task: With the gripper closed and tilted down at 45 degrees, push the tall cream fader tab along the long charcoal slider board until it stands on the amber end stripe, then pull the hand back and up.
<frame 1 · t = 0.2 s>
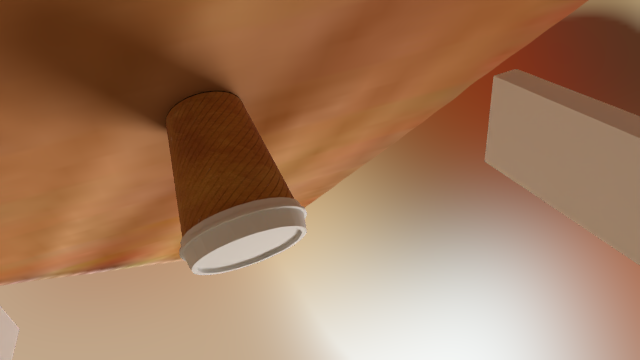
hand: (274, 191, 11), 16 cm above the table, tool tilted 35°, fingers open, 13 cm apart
disposable coffee cup: (204, 112, 35), on the table
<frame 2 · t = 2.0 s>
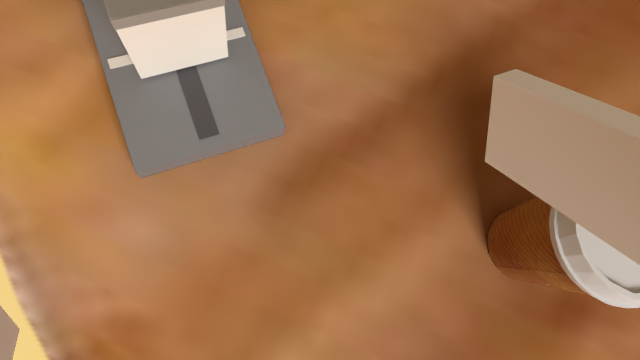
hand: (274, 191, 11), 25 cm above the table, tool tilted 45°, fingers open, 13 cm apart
fader tab: (170, 16, 31), point 6 cm above the table, slide at 0.0 cm
disposable coffee cup: (518, 244, 39), on the table
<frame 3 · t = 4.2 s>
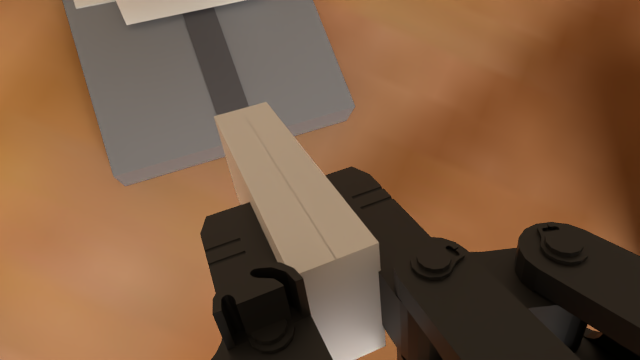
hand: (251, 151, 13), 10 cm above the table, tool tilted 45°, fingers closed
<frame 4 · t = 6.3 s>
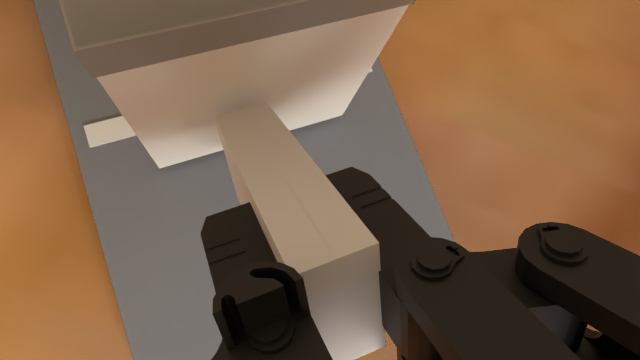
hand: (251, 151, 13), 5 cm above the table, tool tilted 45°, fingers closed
fader tab: (238, 32, 12), point 6 cm above the table, slide at 0.1 cm, touching gripper
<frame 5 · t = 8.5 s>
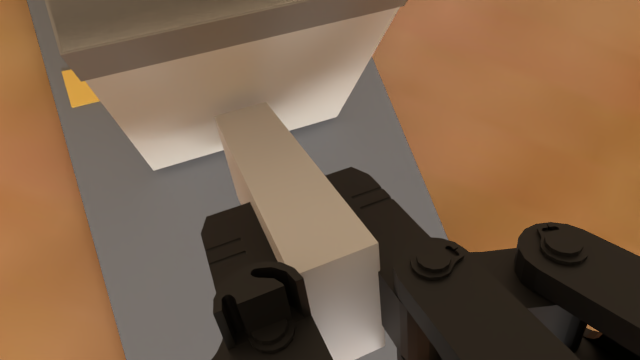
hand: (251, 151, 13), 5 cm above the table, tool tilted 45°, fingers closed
slider board: (273, 230, 18), on the table
fader tab: (230, 34, 12), point 6 cm above the table, slide at 12.2 cm
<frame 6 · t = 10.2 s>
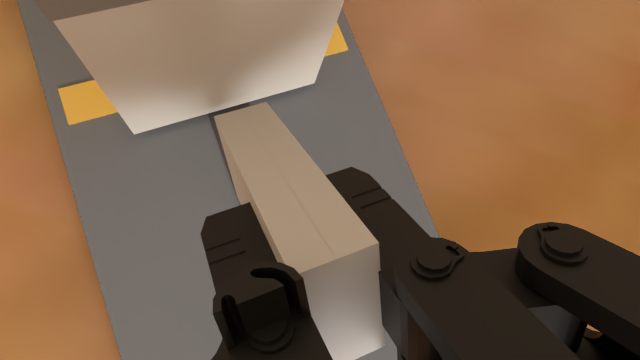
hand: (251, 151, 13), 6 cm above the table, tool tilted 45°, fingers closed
slider board: (271, 242, 18), on the table
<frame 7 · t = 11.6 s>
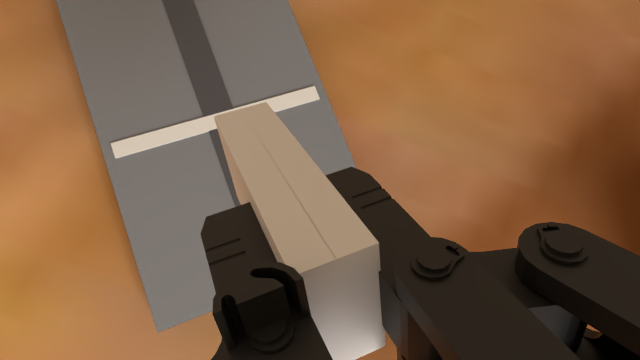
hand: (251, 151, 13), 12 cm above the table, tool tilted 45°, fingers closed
slider board: (184, 28, 26), on the table
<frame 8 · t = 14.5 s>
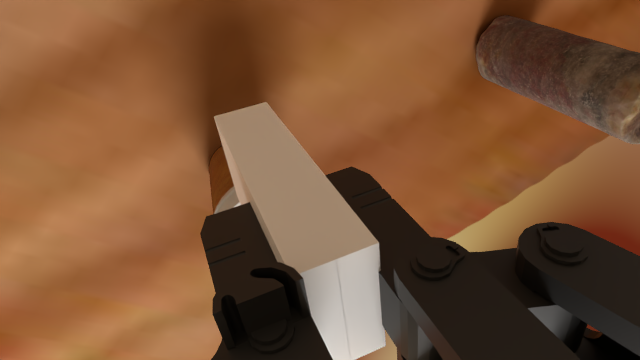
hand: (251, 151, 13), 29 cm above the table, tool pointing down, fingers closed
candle: (494, 47, 52), on the table
disposable coffee cup: (238, 165, 46), on the table
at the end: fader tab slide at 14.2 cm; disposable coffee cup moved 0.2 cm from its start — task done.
